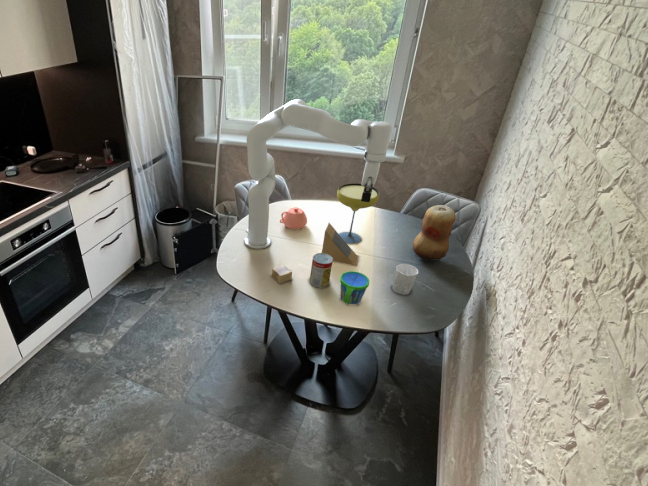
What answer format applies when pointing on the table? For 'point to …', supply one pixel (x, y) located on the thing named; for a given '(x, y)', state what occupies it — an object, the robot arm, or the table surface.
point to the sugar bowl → (294, 218)
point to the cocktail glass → (354, 205)
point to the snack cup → (353, 286)
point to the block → (281, 274)
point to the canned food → (321, 270)
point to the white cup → (404, 278)
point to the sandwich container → (338, 247)
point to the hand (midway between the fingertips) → (366, 196)
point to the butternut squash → (435, 233)
